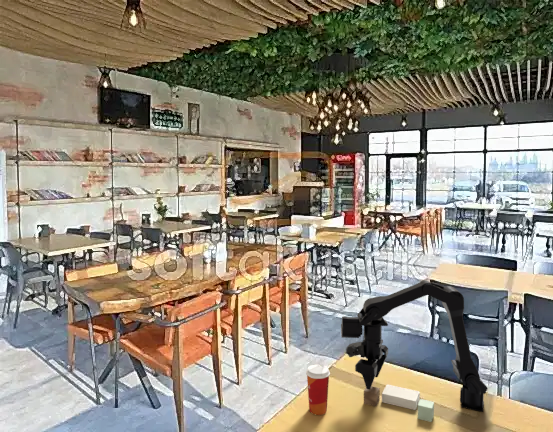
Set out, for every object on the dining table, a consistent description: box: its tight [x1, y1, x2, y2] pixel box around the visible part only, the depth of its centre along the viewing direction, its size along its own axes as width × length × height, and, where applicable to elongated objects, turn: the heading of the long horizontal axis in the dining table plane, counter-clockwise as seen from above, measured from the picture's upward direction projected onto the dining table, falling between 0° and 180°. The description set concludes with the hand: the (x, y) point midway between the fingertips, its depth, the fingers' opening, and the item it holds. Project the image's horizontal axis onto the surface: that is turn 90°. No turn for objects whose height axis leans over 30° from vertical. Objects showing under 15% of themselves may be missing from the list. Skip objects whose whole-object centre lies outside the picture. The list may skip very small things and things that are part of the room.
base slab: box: [381, 384, 421, 411], centre depth 145 cm, size 11×7×3 cm, turn 62°
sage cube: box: [417, 398, 435, 423], centre depth 135 cm, size 4×4×4 cm
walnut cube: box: [363, 386, 381, 407], centre depth 144 cm, size 4×4×4 cm
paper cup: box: [305, 364, 331, 416], centre depth 139 cm, size 8×8×14 cm
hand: (372, 382), depth 144 cm, fingers open, 9 cm apart
